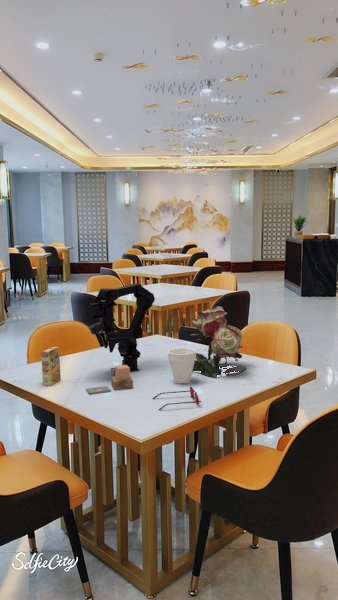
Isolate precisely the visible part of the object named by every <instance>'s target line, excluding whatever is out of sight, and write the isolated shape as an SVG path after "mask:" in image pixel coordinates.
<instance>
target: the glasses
mask: <svg viewBox="0 0 338 600" xmlns="http://www.w3.org/2000/svg"><path fill="white" fill-rule="evenodd" d="M188 392H189V393H190V394H189V395H190V398H192V400H193V401H184V402H174V403H165V404H164V405H163V406H161V407H160V408H159V409H158V410H160V411H161V410H162V409H164V408H165V407H166V406H168V405H181V404H190V403H191V404H192V403H195V404H197V405H196V406H199V405H200V403H201V402H202V401H201V400H200V399H199V396H198V393H197V391H195V389H194V388H193V387H192V386H190V387H189V390H181V391H180V390H179V391H168V392H161V393H158V394H156V395H155V396H153V397H152V398H151V399H152V400H155V399H156V398H157V397H158V396H160V395H163V394H173V393H174V394H177V393H188ZM194 400H195V401H194Z"/></svg>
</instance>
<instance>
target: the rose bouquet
mask: <svg viewBox="0 0 338 600" xmlns="http://www.w3.org/2000/svg"><path fill="white" fill-rule="evenodd" d="M227 314H228V312H227V311H225V310H224V308H223V306H220V305H217V306H216V307H212V306H211V308H207V309H205V310H204V311H199V312H197V316H198V317H199V318H198V319H197V320H190V322H192V323H193V325H194V326H195V327H196V329H197V330H198V331H199V332H200V333H192V334H191V333H190V335H189V336H191V337H204V339H209V345H208V350H207V349H206V348H205V349H204V350H205V351H206V350H207V357H206V356H205V355H204V354H203V353H199V352H196V359H195V362H194V366H193V371H201V373H200V374H201V375H203V376H207V377H213V378H215V379H218V378H217V375H219V372H220V370H219V367H220V368H222V367H227V366H229V365H230V364H229V363H228V358H233V359H234V361H236V362H239V359H242V358H243V354H241V352H239V351H238V350H239V349H240V348H244V346H243V345H242V340H243V335H242V333H243V332H242V331H241V329H240V328H238V327H235V326H234V325H233V326H232V325H231V324H227V323H228V320H227V319H226V316H227ZM196 340H197V341H201V340H202V339H201V338H197V339H196ZM211 355H212V356H211ZM222 359H225V362H222V361H221V360H222ZM221 363H222V364H221ZM236 366H237V367H233V366H232V367H233V368H229V369H227V368H223V369H227V370H226V371H225V372H223V373H225V374H226V373H230V372H234V371H235V372H238V371H239V372H240V373H241V371H244V370H245V369H246V368H247V366H242V367H241V365H236ZM218 371H219V372H218Z"/></svg>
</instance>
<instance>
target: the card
mask: <svg viewBox="0 0 338 600" xmlns="http://www.w3.org/2000/svg"><path fill="white" fill-rule="evenodd" d="M85 391H86V392H87V393H88V395H89V396H90V395H98V394H105V393H111V392H112V391H111V388H110V387H109V386H108V385H104V386H96V387H88V388H85Z"/></svg>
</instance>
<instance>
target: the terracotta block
mask: <svg viewBox="0 0 338 600" xmlns="http://www.w3.org/2000/svg"><path fill="white" fill-rule="evenodd" d="M114 368H115V377H116V378H117V380H118V381H120V380H128V379H130V377H131V371H130V368H129V367H128V366H127V365H122V364H121V365H115V366H114Z"/></svg>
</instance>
